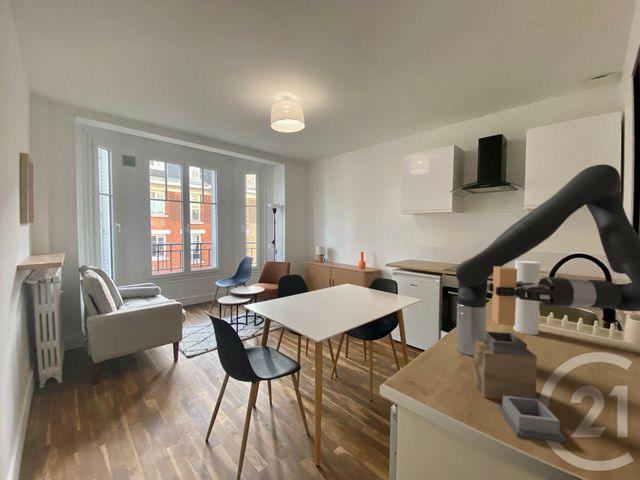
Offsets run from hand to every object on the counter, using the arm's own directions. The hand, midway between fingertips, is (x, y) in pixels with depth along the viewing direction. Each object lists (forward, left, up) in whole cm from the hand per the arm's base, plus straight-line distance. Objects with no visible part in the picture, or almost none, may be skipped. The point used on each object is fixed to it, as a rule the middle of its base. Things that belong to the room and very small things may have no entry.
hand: (493, 289), depth 74 cm
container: (-50, +33, -28) cm, 66 cm away
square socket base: (0, +3, -28) cm, 28 cm away
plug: (0, +3, -9) cm, 9 cm away
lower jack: (+13, +3, -28) cm, 31 cm away
